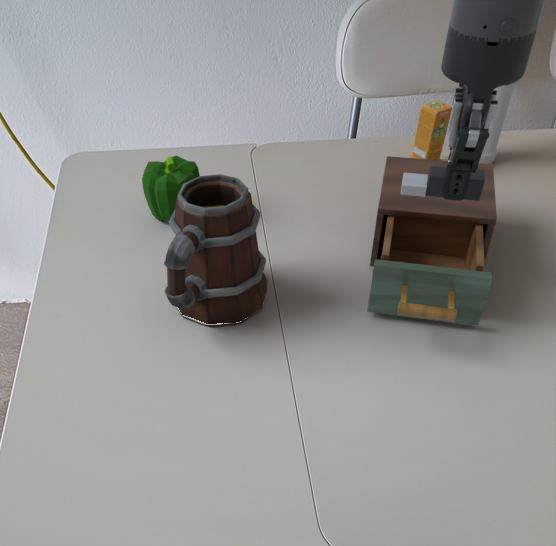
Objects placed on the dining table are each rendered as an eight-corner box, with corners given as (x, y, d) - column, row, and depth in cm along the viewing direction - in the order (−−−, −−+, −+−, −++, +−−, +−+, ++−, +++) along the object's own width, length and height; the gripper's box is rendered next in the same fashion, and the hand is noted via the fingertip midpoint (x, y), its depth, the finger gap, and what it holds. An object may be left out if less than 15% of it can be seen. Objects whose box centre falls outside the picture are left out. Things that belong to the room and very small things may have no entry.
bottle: (473, 169, 101) (517, -7, 83) (453, 155, 104) (492, -17, 87) (501, 162, 102) (551, -14, 84) (481, 148, 105) (524, -23, 88)
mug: (203, 259, 88) (195, 157, 77) (283, 285, 83) (286, 179, 72) (135, 327, 78) (116, 221, 68) (220, 361, 73) (214, 252, 63)
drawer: (478, 353, 71) (494, 305, 66) (363, 336, 74) (370, 289, 69) (476, 262, 82) (489, 216, 78) (376, 251, 85) (383, 206, 80)
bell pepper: (153, 200, 100) (145, 138, 93) (205, 201, 98) (201, 139, 91) (140, 230, 94) (131, 167, 87) (196, 232, 92) (191, 168, 86)
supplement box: (423, 174, 101) (436, 111, 94) (408, 165, 103) (419, 103, 96) (440, 168, 102) (453, 105, 95) (424, 159, 104) (436, 98, 97)
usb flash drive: (479, 189, 71) (484, 168, 69) (479, 202, 69) (485, 181, 67) (402, 182, 73) (405, 162, 71) (400, 194, 71) (403, 174, 69)
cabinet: (479, 278, 81) (497, 219, 75) (369, 265, 85) (377, 208, 79) (477, 220, 91) (493, 163, 85) (378, 210, 94) (386, 155, 88)
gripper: (451, -4, 64) (420, 158, 76) (448, 46, 54) (413, 222, 66) (533, -2, 62) (488, 164, 74) (544, 50, 53) (491, 230, 65)
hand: (453, 190), depth 70 cm, fingers closed on usb flash drive, 2 cm apart
